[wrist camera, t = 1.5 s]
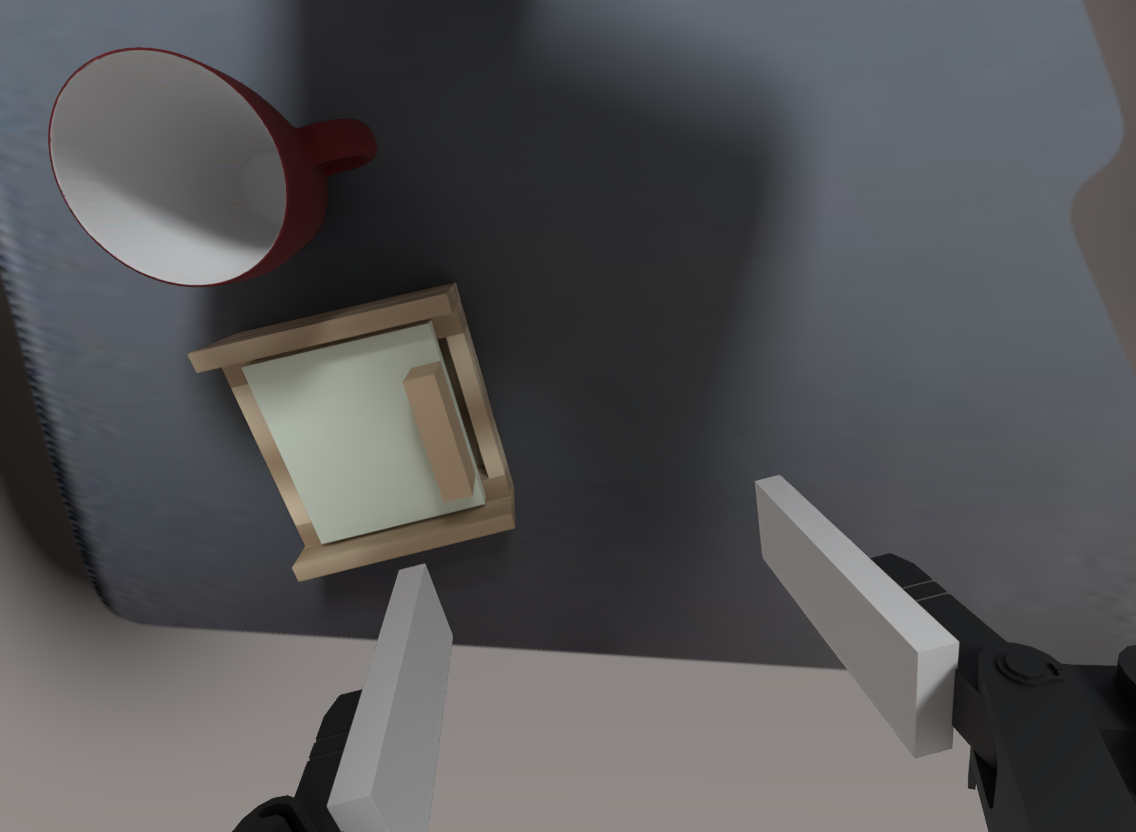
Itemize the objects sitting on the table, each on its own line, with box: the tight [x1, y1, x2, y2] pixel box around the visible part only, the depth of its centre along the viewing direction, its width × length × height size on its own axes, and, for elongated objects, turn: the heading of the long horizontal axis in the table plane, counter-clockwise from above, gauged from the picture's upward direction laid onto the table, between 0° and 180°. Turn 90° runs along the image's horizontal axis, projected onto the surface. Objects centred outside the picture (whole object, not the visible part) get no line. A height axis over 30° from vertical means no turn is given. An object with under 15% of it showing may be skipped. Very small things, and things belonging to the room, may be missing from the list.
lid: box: [241, 320, 486, 544], centre depth 29 cm, size 11×10×4 cm
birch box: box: [188, 282, 515, 582], centre depth 31 cm, size 14×13×5 cm
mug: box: [48, 47, 377, 287], centre depth 24 cm, size 10×8×10 cm
